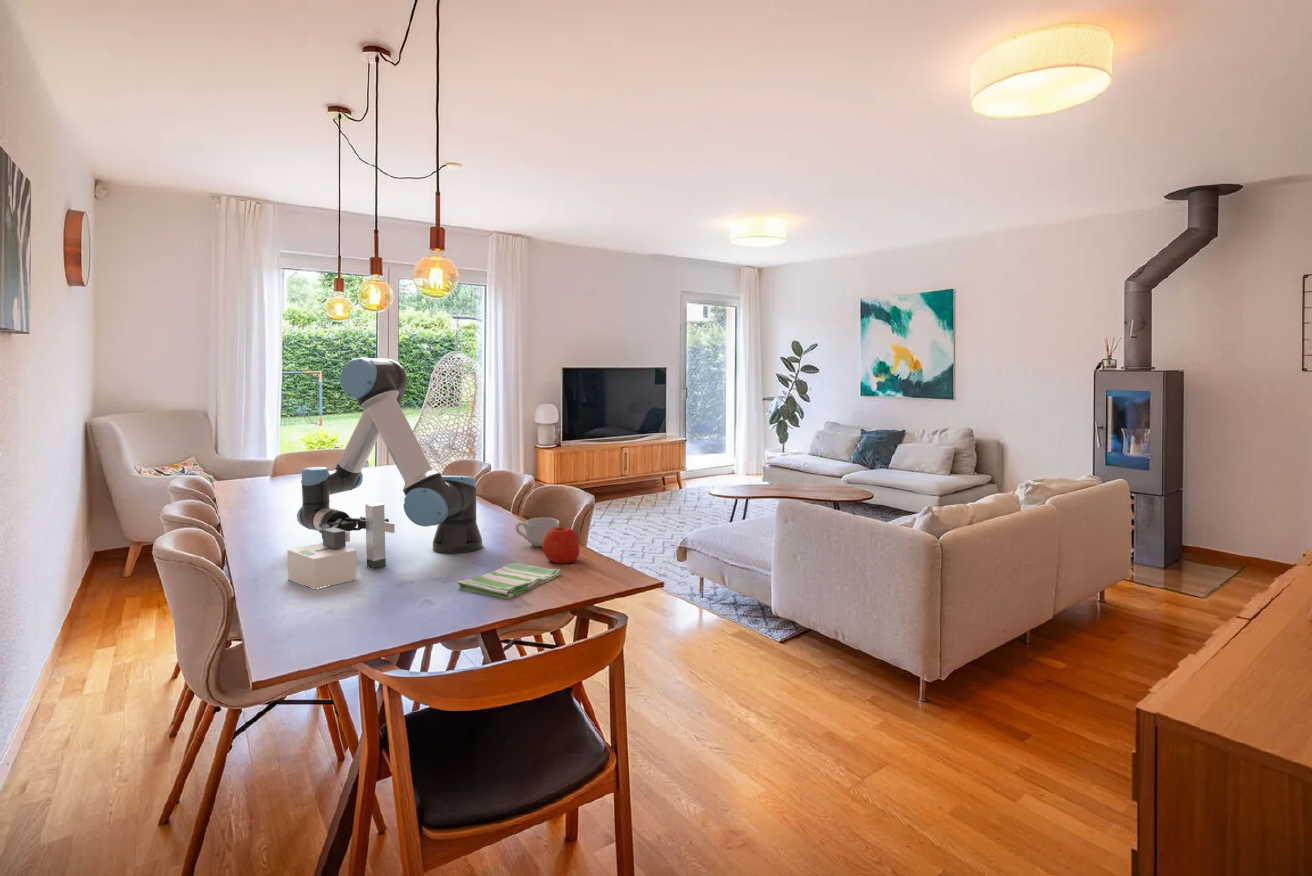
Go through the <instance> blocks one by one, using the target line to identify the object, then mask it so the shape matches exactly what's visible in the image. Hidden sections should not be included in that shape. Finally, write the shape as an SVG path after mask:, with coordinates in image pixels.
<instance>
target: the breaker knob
mask: <svg viewBox="0 0 1312 876" xmlns="http://www.w3.org/2000/svg"><path fill="white" fill-rule="evenodd" d="M322 543H323V546H326V547H329V548H332V549H339V548H344V547H346V546H347V545H346V543H347V542H346V541H345V530H341V529H337V528H334V527H333V528H327V529H323V539H322ZM346 548H347V547H346Z"/></svg>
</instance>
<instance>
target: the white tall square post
mask: <svg viewBox="0 0 1312 876" xmlns="http://www.w3.org/2000/svg"><path fill="white" fill-rule="evenodd" d="M364 509H365V512H364V513H365V517H366V529H365V544H366V545H365V546H366V547H365V549H366V559H365V562H366V568H368V567H369V568H368V569H371V568H372V569H371V570H378V569H382V568H386V567H385V566H387V559H386V531H385V519H386V518H385V517H386V516H385V504H384V503H379V502H374V503H367V504H365V507H364ZM381 567H382V568H381ZM377 568H378V569H377Z"/></svg>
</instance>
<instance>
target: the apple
mask: <svg viewBox="0 0 1312 876" xmlns="http://www.w3.org/2000/svg"><path fill="white" fill-rule="evenodd" d="M578 539H579V538H578V535H577V533H576V532H575V531H574V529H572V528H570V527H567V526H559V527H553V528H552V529H550V530H549V532H548V533H547V534H546V536H545V538H544V541H543V545H542V547H541V548H542V553H543V554H544V556H545V557H546V559H547V561H549V562H552V563H555V564H562V565H563V563H564V564H570V563H571V562H572V563H574V562H575V561H577V560H578V558H579V555H580V544H579V540H578Z"/></svg>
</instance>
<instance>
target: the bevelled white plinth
mask: <svg viewBox="0 0 1312 876" xmlns="http://www.w3.org/2000/svg"><path fill="white" fill-rule="evenodd" d="M356 553H357V552H356V549H352V548H349V547H344V548H339V549H332V548H329V547H326V546H323V542H321V543H316V544H311V545H305V546H300V547H296V548H291V549H287V575H288V576H287V577H288V578H289V579H292V580H294V581H296V582H298V583H297V584H299V583H301V584H303V585H302V586H304V585H307V586H310V587H312V588H314V589H317V588H320V587H324V586H328V585H333V586H337V585H340V583H341V584H345V583H349V582H352V580H353V581H356V580H357V557H356V555H357V554H356ZM288 578H287V579H288ZM289 579H288V580H289ZM294 581H293V582H294ZM348 581H349V582H348ZM296 582H295V583H296ZM344 582H345V583H344ZM301 584H300V585H301ZM336 584H337V585H336ZM312 588H311V589H312ZM314 589H313V590H314ZM317 590H318V589H317Z"/></svg>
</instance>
